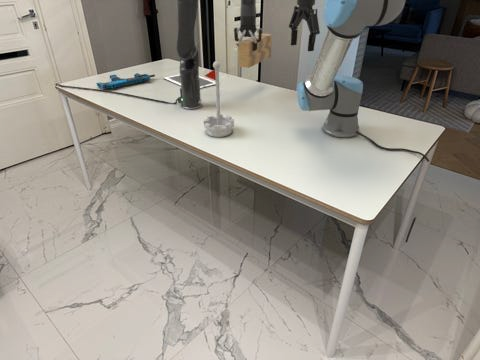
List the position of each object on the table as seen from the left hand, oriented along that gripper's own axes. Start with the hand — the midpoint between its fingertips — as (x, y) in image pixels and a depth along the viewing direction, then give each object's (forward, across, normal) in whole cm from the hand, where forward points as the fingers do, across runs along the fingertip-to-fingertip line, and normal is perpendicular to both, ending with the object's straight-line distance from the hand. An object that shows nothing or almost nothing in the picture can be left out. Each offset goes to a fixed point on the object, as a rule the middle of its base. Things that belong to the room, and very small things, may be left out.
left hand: (247, 50), depth 173 cm
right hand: (-5, +28, -15) cm, 32 cm away
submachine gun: (+25, -79, +12) cm, 84 cm away
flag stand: (+25, -4, -46) cm, 53 cm away
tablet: (+25, -40, +21) cm, 52 cm away
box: (+7, +3, +8) cm, 11 cm away
